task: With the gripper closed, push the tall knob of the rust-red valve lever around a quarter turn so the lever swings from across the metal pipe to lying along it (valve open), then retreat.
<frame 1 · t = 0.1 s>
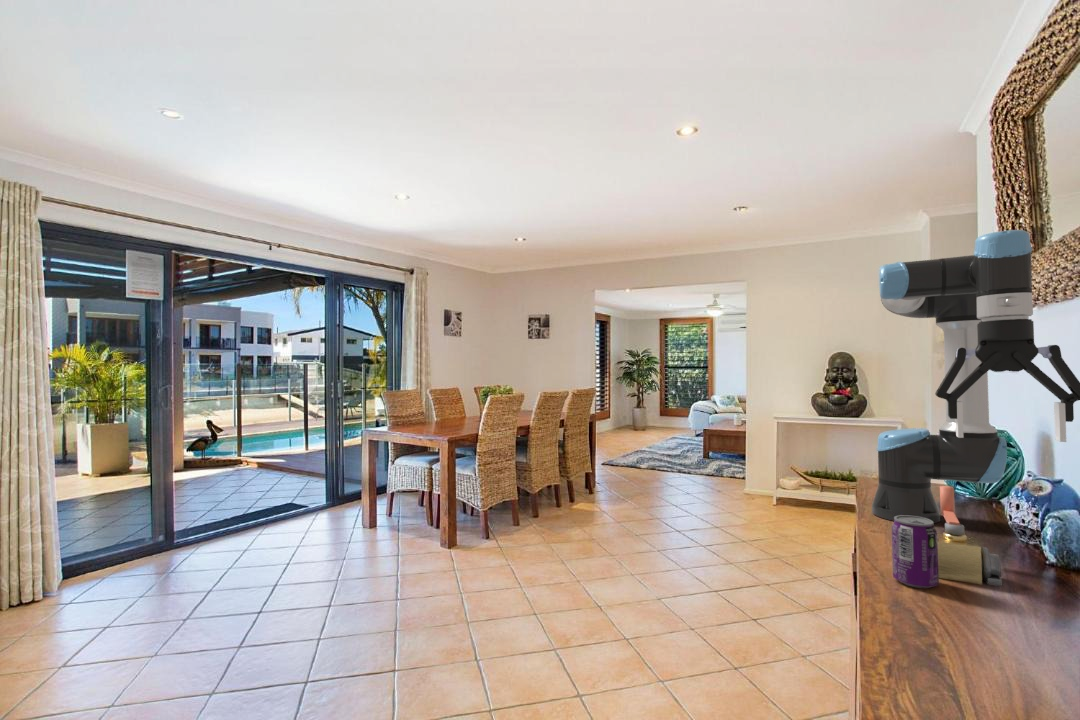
hand: (1008, 439, 93), 28 cm above the table, fingers open, 13 cm apart
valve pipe: (956, 575, 103), on the table
beverage can: (915, 584, 100), on the table
lever: (950, 509, 107), point 12 cm above the table, hinge at 0.0°
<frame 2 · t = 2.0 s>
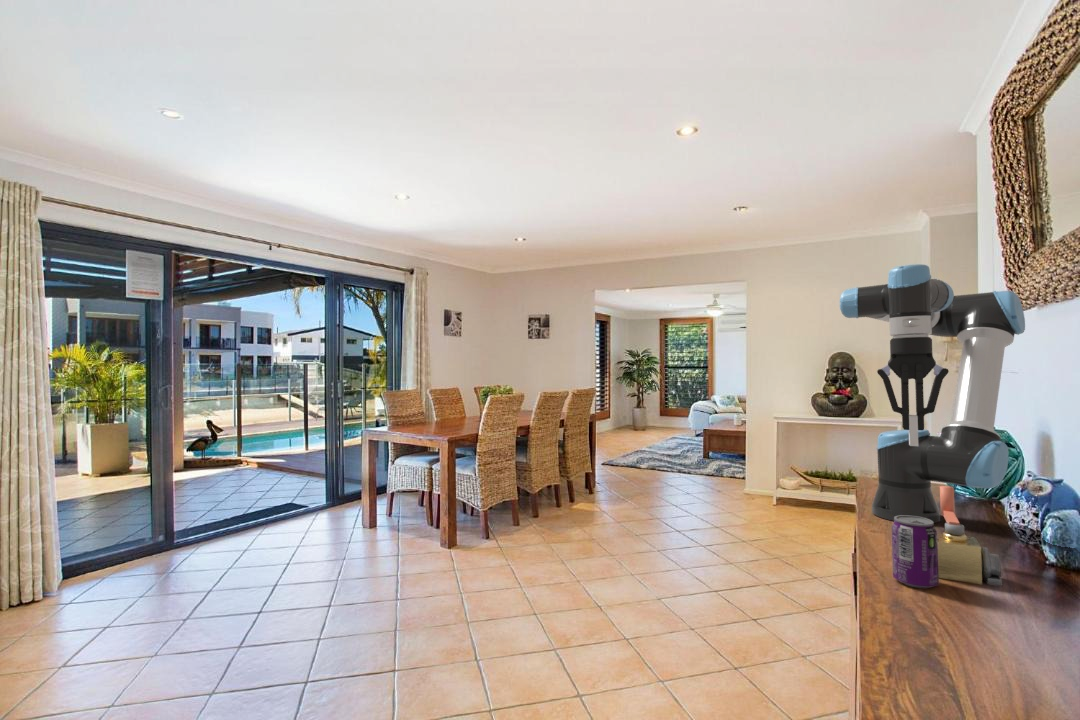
hand: (913, 445, 114), 24 cm above the table, fingers closed
nothing on the table moved.
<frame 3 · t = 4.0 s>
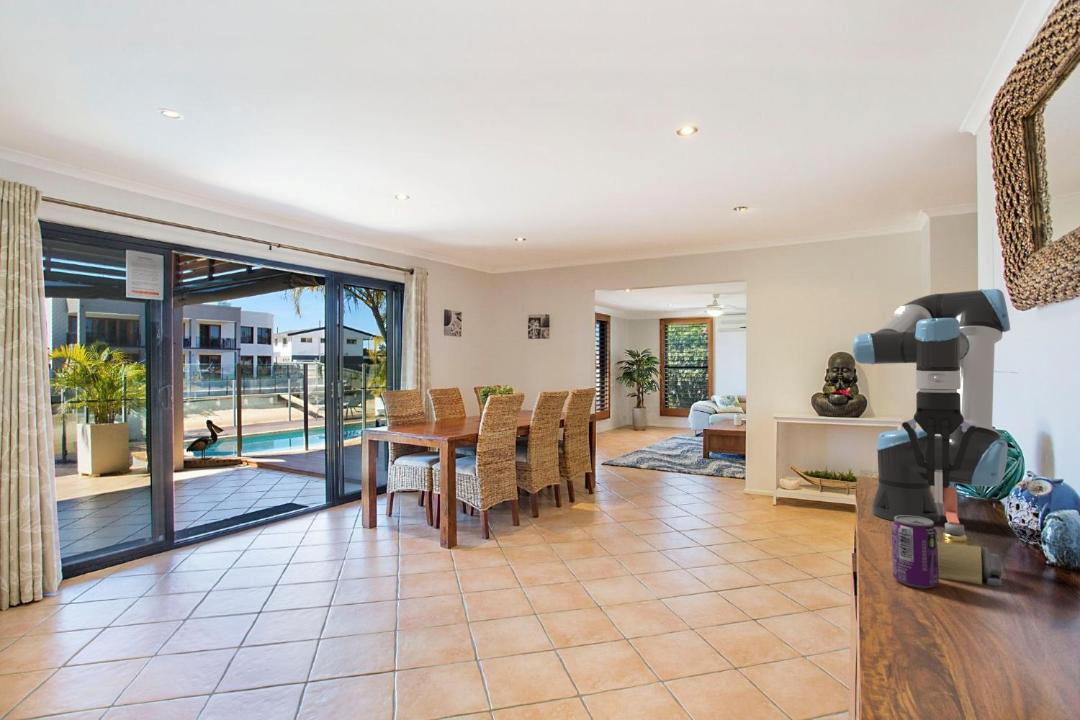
hand: (939, 501, 112), 12 cm above the table, fingers closed
lever: (952, 509, 107), point 12 cm above the table, hinge at 2.7°, touching gripper
everything else where it was.
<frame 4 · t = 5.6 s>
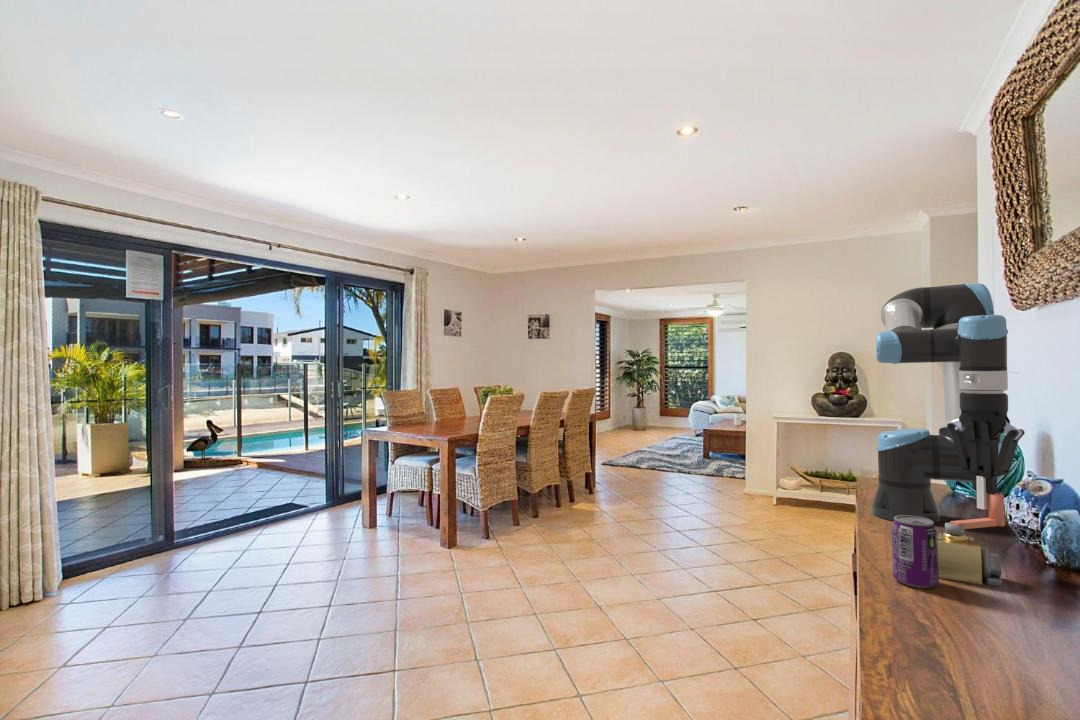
hand: (985, 508, 107), 12 cm above the table, fingers closed
lever: (974, 513, 104), point 12 cm above the table, hinge at 47.9°, touching gripper
everything else where it was.
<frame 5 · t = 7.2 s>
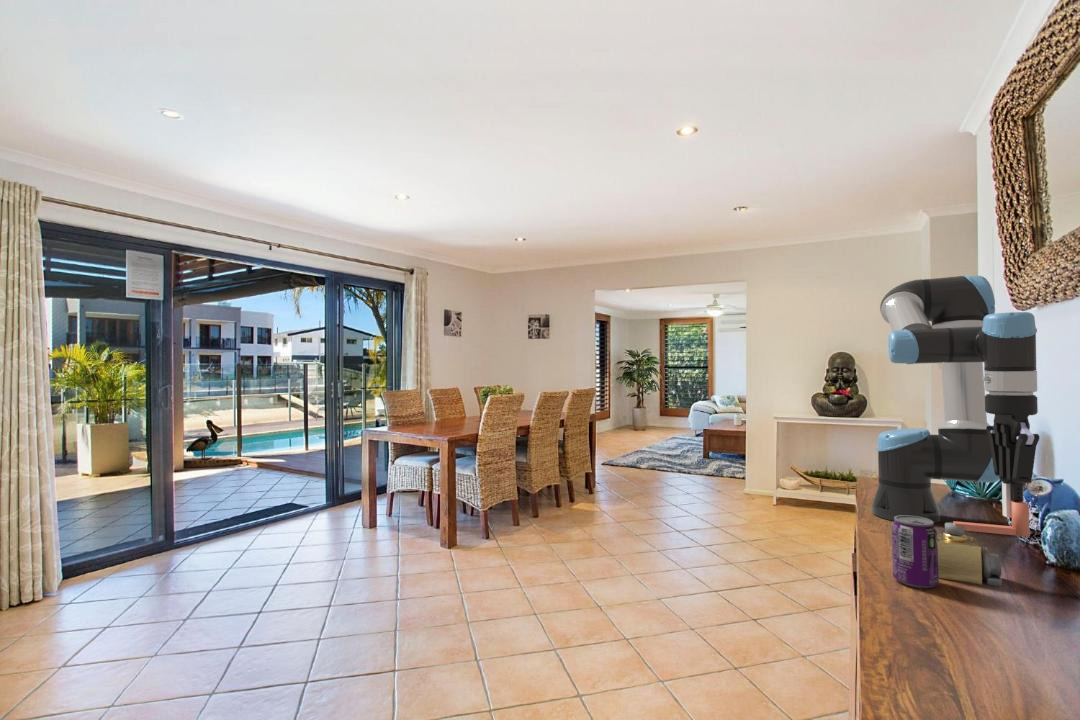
hand: (1013, 516, 101), 12 cm above the table, fingers closed
lever: (985, 517, 101), point 12 cm above the table, hinge at 84.7°, touching gripper
everything else where it was.
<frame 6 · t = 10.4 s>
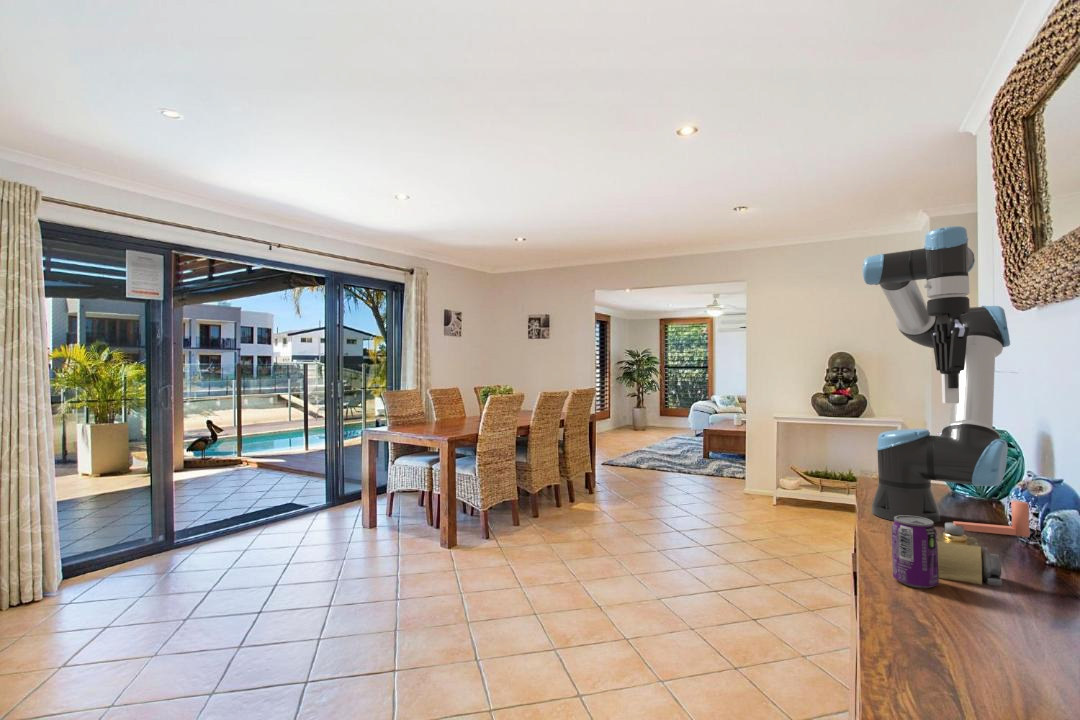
hand: (950, 402, 118), 32 cm above the table, fingers closed
lever: (985, 517, 101), point 12 cm above the table, hinge at 84.6°
everything else where it was.
at the end: lever at +85° (first picture: +0°) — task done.
